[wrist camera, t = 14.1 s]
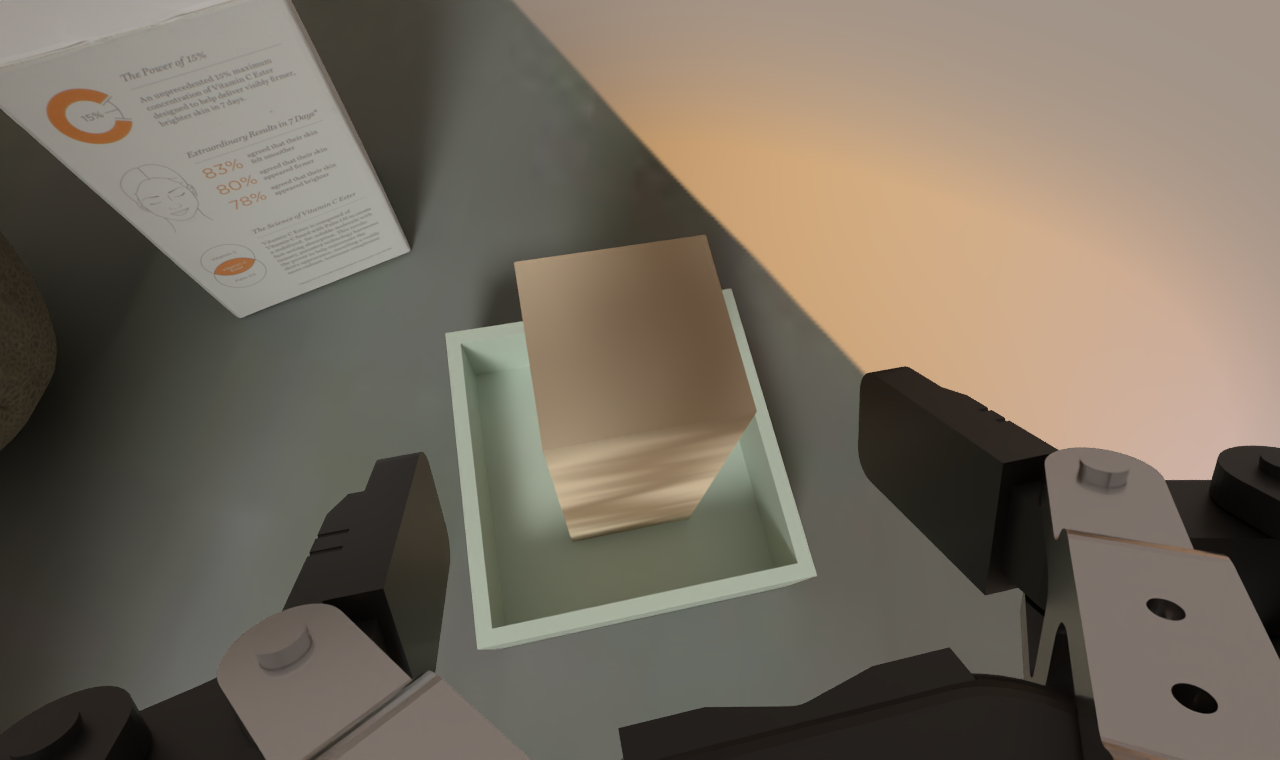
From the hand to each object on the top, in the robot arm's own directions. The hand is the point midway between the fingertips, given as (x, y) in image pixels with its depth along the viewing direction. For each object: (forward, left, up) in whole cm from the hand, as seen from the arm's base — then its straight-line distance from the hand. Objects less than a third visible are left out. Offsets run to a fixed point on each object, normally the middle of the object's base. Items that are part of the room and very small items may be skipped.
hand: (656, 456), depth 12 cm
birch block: (0, +3, -13) cm, 14 cm away
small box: (-12, +17, -14) cm, 25 cm away
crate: (0, +3, -14) cm, 15 cm away
